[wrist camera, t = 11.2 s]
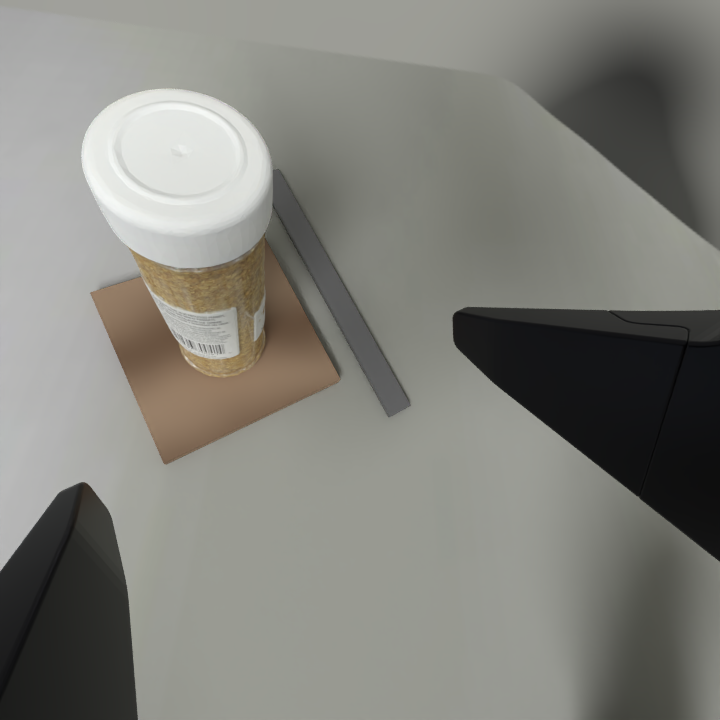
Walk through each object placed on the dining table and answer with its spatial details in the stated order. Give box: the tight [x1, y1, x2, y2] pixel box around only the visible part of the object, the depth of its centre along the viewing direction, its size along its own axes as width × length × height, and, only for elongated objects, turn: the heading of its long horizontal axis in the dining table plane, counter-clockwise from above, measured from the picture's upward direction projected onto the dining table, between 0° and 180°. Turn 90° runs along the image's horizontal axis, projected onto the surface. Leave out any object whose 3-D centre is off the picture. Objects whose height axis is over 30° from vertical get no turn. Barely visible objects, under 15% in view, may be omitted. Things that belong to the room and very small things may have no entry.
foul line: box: [272, 169, 411, 417], centre depth 26 cm, size 18×2×1 cm, turn 30°
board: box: [90, 239, 340, 464], centre depth 23 cm, size 10×10×1 cm
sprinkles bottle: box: [81, 88, 273, 378], centre depth 16 cm, size 5×5×13 cm
